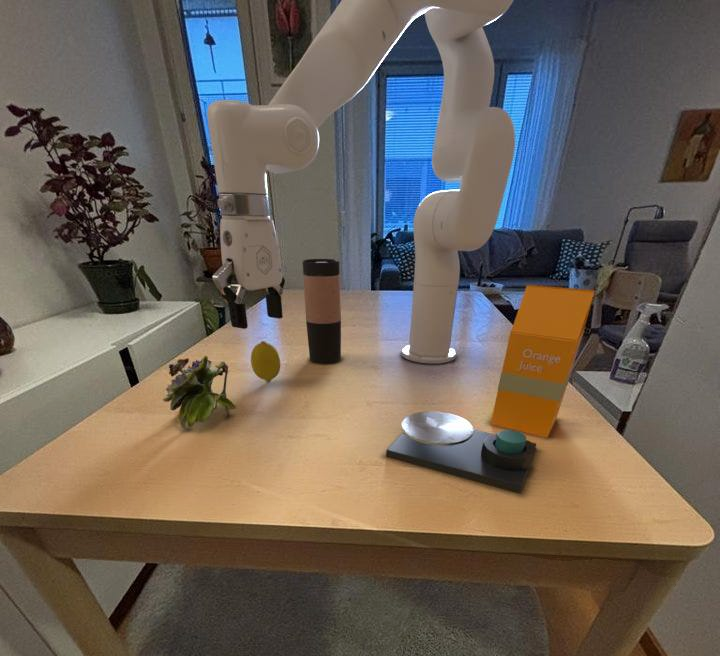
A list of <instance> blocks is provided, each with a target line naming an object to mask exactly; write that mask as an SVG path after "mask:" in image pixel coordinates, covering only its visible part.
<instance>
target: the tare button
mask: <svg viewBox="0 0 720 656" xmlns="http://www.w3.org/2000/svg"><path fill="white" fill-rule="evenodd" d="M496 434H497V438H496V443H495V448H496V449H498V450H500V451H502V452H506V453H510V454H520V453H522V452H523V450H524V446H525V443H526V440H527V437H526V435H525V434H524V433H523V432H521V431H518V430H514V429H504V430H500V431H499V432H497V433H496Z"/></svg>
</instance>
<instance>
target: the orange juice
mask: <svg viewBox="0 0 720 656" xmlns="http://www.w3.org/2000/svg"><path fill="white" fill-rule="evenodd" d="M595 291H596V290H595V289H586V288H585V289H583V288H571V287H561V286H550V285H549V286H548V285H536V284H526V287H525V290H524V293H523V295H522V298H521V301H520V304H519V307H518V309H517V312H516V316H515V318H514V322H513V325H512V328H511V330H510V332H509V337H508V341H507V347H506V350H505V356H504V360H503V365H502V369H501V372H500V377H499V382H498V386H497V392H496V398H495V402H494V406H493V410H492V416H491V420H490V425H493V426H497V427H502V428H505V429H509V430H513V431H517V432H521V433H526V434H531V435H535V436H539V437H543V438H548V437H549V435H550V433H551V431H552V429H553V427H554V425H555V422H556V421H557V418H558V415H559V412H560V409H561V405H562V402H563V399H564V396H565V393H566V390H567V387H568V384H569V381H570V378H571V374H572V372H573V368H574V364H575V362H576V358H577V355H578V352H579V349H580V345H581V342H582V339H583V336H584V332H585V329H586V326H587V325H586V324H587V321H588V317H589V313H590V311H591V306H592V303H593V299H594V295H595Z"/></svg>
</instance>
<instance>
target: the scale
mask: <svg viewBox="0 0 720 656" xmlns="http://www.w3.org/2000/svg"><path fill="white" fill-rule="evenodd" d="M473 430H474V431H473V435H472V437H471V438H470V439H469V440H468V441H466V442H464V443H461V444H457V445H451V446H435V445H428V444H424V443H420V442H418V441H415V440H413V439H411V438H409V437H408V436H407V435H405V434H404V432H403V431H402V433H401V434H400V435H399V436H398V437H397V439H395V441H393V443H391V444H390V446H389V447H387V449H386V452H385V453H386V454H385V457H386V458H389V459H393V460H396V461H400V462H403V463H407V464H411V465H415V466H419V467H421V468H425V469H428V470H433V471H435V472H436V471H437V472H440V473H443V474H446V475H451V476H455V477H458V478H461V479H466V480H469V481H472V482H476V483H480V484H483V485H487V486H490V487H494V488H497V489H502V490H505V491H510V492H513V493H516V494H521V492H522V489H523V486H524V483H525V480H526V478H527V475H528V471H529V469H530V468H531V467H532V465H533V462H534V459H535V455H536V452H537V442H532V441H529V440H527V439H526V443H525V446H524V450H523V452H522V453H520V454H510V453H506V452H502V451H500V450H498V449H496V448H495V443H496V438H497V434H498V433H490V432H487V431H482V430H477V429H473Z"/></svg>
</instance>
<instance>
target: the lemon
mask: <svg viewBox="0 0 720 656" xmlns="http://www.w3.org/2000/svg"><path fill="white" fill-rule="evenodd" d="M250 365H251V368H252V370H253V373H254V374H255V376H257V377H258V378H259V379H261V380H264V382H266V383H270V382H272V380H273V379H275V378H276V377H277V376H278V375H279V373H280V371H281V358H280V355H279V352H278V350H277V348H276V347H275V346H274V345H273V344H271V343H268V342H266V341H265V340H261V341H260V343H257V344H256V345H255V346H254V347H253V348H252V351H251V353H250Z"/></svg>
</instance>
